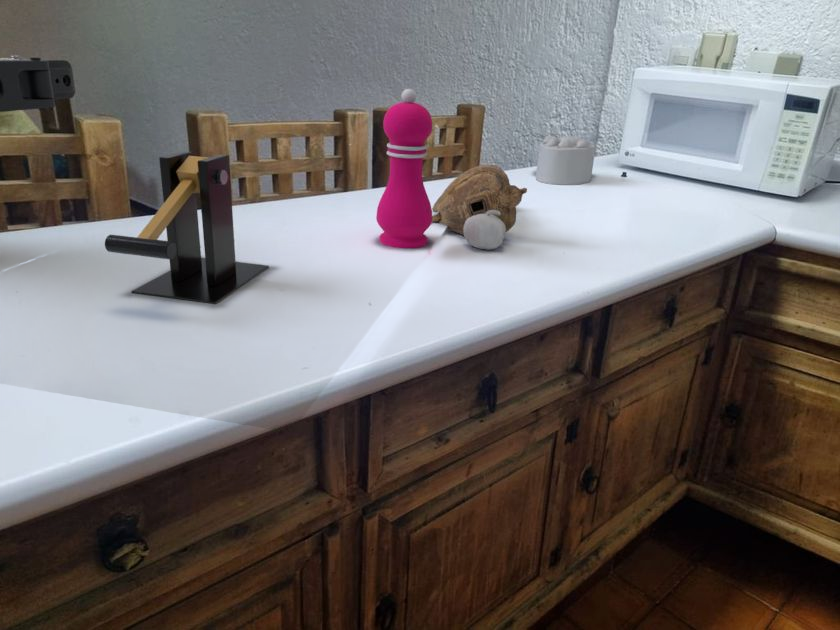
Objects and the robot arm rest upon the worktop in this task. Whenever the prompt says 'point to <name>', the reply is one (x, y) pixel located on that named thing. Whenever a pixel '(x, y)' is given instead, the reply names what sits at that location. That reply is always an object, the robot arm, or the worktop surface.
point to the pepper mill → (405, 176)
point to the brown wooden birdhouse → (478, 198)
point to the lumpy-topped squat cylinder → (565, 161)
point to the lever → (160, 219)
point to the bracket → (187, 268)
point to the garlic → (484, 230)
